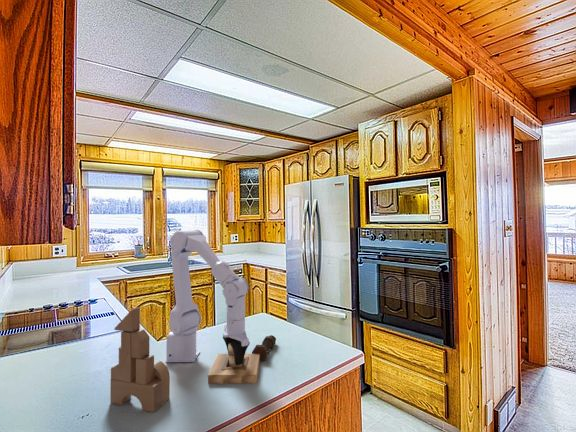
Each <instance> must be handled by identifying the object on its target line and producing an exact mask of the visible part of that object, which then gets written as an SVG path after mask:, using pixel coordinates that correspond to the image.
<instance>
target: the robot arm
mask: <svg viewBox="0 0 576 432" xmlns="http://www.w3.org/2000/svg"><path fill="white" fill-rule="evenodd" d="M169 239H170V248H171V249H170V251H171V252H170V256H171V257H170V258H171V266H172V267H171V268H172V269H171V270H172V275H173V285H174V297H175V305H174V307H173V308H172V309H171V311H170V313H169V314H170V315H169V317H170V318H169V322H168V323H169V324H168V326H169V329H170V331H169V333H168V335H167V336H166V344H165V345H166V351H165V352H166V354H165V355H166V360H165V363H194V362H195V361H196V359H197V357H198V356H199V354H200V353H201V351H200V350H197V330H198V329H199V326H200V325H201V323H202V315H201V313H200V310H199V305H198V304H196V303H195V302H194V301H193V295H192V285H191V276H190V266H189V257H190V256H191V255H192V253H193V252H194V253H197V254H198V255H199V256H200V257H201V258H202V259H203V260H204V261H205V262H206V264H208V266H209V267H211V271H210V272H211V275H212V276H213V277H214V278H215V280H216V281H217V283H218V284H219V285H220V286H221V287H222V295H223V296H224V299H225V304H226V324H225V325H224V327H223V328H224V329H223V331H224V332H223V334H222V339H223V340H224V343H225V345H226V349H227V351H228V344H229V343H230V344H231V346H232V349H233V352H234V359H235V364H236V365H240V364H242V363H243V360H244V356H245V354H246V352H247V350H248V347H249V346H250V339H249V338H248V336H247V332H246V295H247V294H248V292H249V286H250V285H249V283H248V281H247V279H245V278H243V277H240V276H239V275H238V274H236V273H235V272H234V270H233V269H232V268H231V267H230V264H229V263H228V262H226V261H224V260H223V261H221V260H220V259H219V257H218V256H217V255H216V253H215V252H214V250H213V249H212V247H211V246H210V245H209V243H208V242H207V237H206V235H204V233H203V232H202V231H201V230H200V229H194V230H177V231H175V232H174V233H173V234H172V235H171V236H170V238H169ZM227 354H228V353H227ZM228 355H229V354H228Z"/></svg>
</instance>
